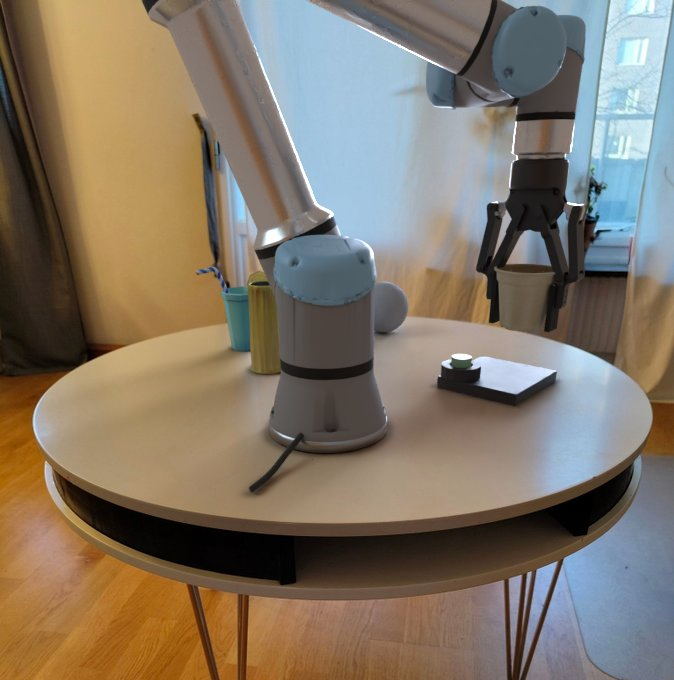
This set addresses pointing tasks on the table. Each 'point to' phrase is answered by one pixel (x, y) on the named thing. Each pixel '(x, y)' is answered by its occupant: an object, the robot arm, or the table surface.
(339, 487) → the table surface
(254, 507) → the table surface
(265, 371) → the vase
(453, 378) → the scale
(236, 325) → the cup
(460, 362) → the button
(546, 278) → the flower pot
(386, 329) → the decorative stone
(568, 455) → the table surface
